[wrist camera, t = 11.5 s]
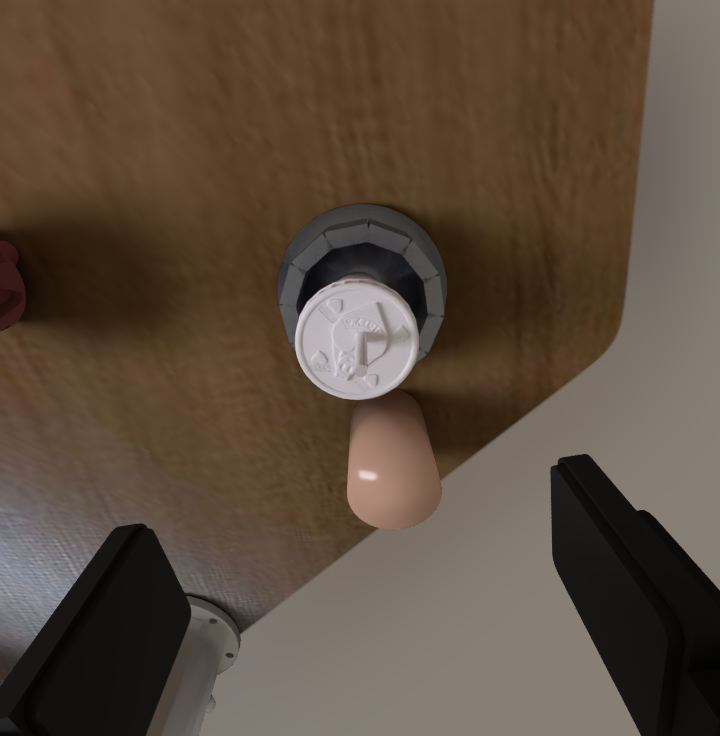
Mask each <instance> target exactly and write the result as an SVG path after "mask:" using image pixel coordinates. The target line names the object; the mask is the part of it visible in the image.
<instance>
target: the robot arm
mask: <svg viewBox="0 0 720 736" xmlns="http://www.w3.org/2000/svg"><path fill="white" fill-rule="evenodd" d="M551 511H552V512H551V514H552V555H553V561H554V564H555V567H556V570H557V572H558V574H559V576H560V578H561V580H562V582H563V584H564V586H565V588H566V590H567V592H568V594H569V596H570V598H571V599H572V601H573V603H574V605H575V607H576V609H577V611H578V613H579V615H580V617H581V619H582V621H583V623H584V625H585V627H586V628H587V631H588V632H589V635H590V636H591V639H592V640H593V642H594V644H595V646H596V648H597V650H598V652H599V654H600V656H601V658H602V660H603V662H604V664H605V666H606V668H607V670H608V672H609V674H610V676H611V677H612V680H613V681H614V683H615V685H616V687H617V689H618V691H619V693H620V695H621V697H622V699H623V701H624V703H625V705H626V707H627V709H628V711H629V713H630V715H631V717H632V719H633V721H634V722H635V724H636V726H637V728H638V730H639V732H640V734H641V736H720V590H719V589H718V588H717V587H716V586H715V585H714V583H713V582H712V581H711V580H710V579H709V578H708V577H707V576H706V575H705V573H704V572H702V570H701V569H700V568H699V567H698V566H697V564H696V563H695V562H694V561H693V560H692V559H691V558H690V557H689V555H688V554H687V553H686V552H685V551H684V550H683V549H682V548H681V546H680V545H679V544H678V543H677V542H676V541H675V540H674V539H673V538H672V536H671V535H670V534H669V533H668V532H667V531H666V530H665V528H664V527H663V526H662V525H661V524H660V523H659V522H658V521H657V520H656V518H654V517H653V516H652V515H651V514H650V513H649V512H647V511H645V510H639V511H636V510H635V509H634V507H633V506H632V505H631V504H630V503H629V501H628V500H627V499H626V498H625V497H624V496H623V494H622V493H621V492H620V491H619V490H618V489H617V487H616V486H615V485H614V484H613V483H612V482H611V480H610V479H609V478H608V477H607V476H606V474H605V473H604V472H603V471H602V470H601V469H600V467H599V466H598V465H597V464H596V463H595V462H594V460H593V459H592V458H591V457H590V456H589V455H587V454H582V455H575V456H569V457H562V458H560V459H559V460H558V465H555V466H552V467H551ZM240 641H241V639H240V633H239V630H238V628H237V626H236V624H235V623H234V622H233V620H232V619H231V618H230V617H229V616H228V615H227V614H226V613H225V612H224V611H223V610H221V609H219V608H218V607H216V606H215V605H213V604H211V603H209V602H206V601H204V600H201V599H198V598H195V597H191V596H186V595H185V593H184V591H183V589H182V587H181V585H180V583H179V581H178V579H177V577H176V575H175V573H174V571H173V569H172V567H171V565H170V563H169V561H168V559H167V557H166V555H165V553H164V551H163V549H162V547H161V545H160V543H159V541H158V539H157V537H156V535H155V533H154V531H153V530H152V529H148V528H147V526H146V525H144V524H140V523H139V524H133V525H126V526H120V527H117V528H115V529H114V530H113V531H112V532H111V533H110V535H109V536H108V537H107V539H106V540H105V542H104V543H103V544H102V546H101V547H100V549H99V550H98V551H97V553H96V554H95V556H94V557H93V558H92V560H91V561H90V563H89V564H88V565H87V567H86V568H85V570H84V571H83V572H82V574H81V575H80V576H79V578H78V579H77V581H76V582H75V583H74V585H73V586H72V588H71V589H70V590H69V592H68V593H67V595H66V596H65V597H64V599H63V600H62V602H61V603H60V604H59V606H58V607H57V608H56V610H55V611H54V613H53V614H52V615H51V617H50V618H49V620H48V621H47V622H46V624H45V625H44V627H43V628H42V629H41V631H40V632H39V634H38V635H37V636H36V638H35V639H34V641H33V642H32V643H31V645H30V646H29V647H28V649H27V650H26V652H25V653H24V654H23V656H22V657H21V659H20V660H19V661H18V663H17V664H16V666H15V667H14V668H13V670H12V671H11V673H10V674H9V675H8V677H7V678H6V679H5V681H4V682H3V684H2V685H1V686H0V736H199V732H200V729H201V726H202V722H203V719H204V716H205V713H208V712H211V711H212V710H213V709H214V707H215V703H216V702H215V700H214V698H213V696H212V694H211V693H212V690H213V686H214V683H215V679H216V676H217V675H218V674H220V673H222V672H224V671H225V670H227V669H228V668H229V667H230V666H231V665H232V664H233V663H234V661H235V659H236V658H237V655H238V651H239V648H240Z"/></svg>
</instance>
